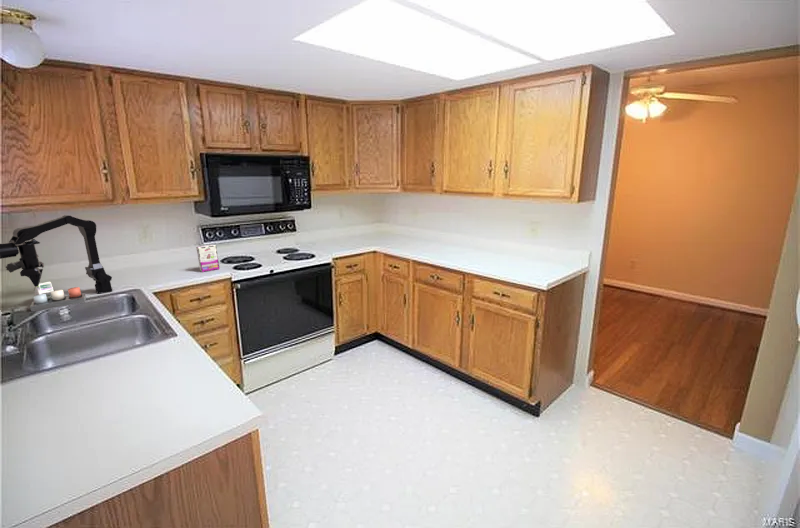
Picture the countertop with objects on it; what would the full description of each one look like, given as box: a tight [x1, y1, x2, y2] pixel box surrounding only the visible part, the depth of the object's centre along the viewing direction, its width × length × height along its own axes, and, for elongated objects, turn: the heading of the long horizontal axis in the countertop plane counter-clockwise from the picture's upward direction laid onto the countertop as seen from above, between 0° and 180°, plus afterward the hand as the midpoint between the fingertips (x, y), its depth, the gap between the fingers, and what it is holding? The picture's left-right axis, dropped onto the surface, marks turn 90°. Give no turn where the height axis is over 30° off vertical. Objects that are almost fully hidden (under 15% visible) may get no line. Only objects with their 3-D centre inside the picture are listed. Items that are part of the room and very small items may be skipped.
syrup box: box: [33, 281, 55, 299], centre depth 192 cm, size 6×6×14 cm
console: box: [29, 292, 87, 312], centre depth 188 cm, size 20×10×2 cm, turn 127°
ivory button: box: [51, 289, 66, 300], centre depth 188 cm, size 5×5×4 cm
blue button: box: [32, 294, 48, 304], centre depth 184 cm, size 5×5×4 cm
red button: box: [67, 286, 82, 298], centre depth 191 cm, size 5×5×4 cm
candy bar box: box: [195, 244, 220, 273], centre depth 247 cm, size 11×5×16 cm, turn 131°
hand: (37, 285), depth 182 cm, fingers open, 3 cm apart
